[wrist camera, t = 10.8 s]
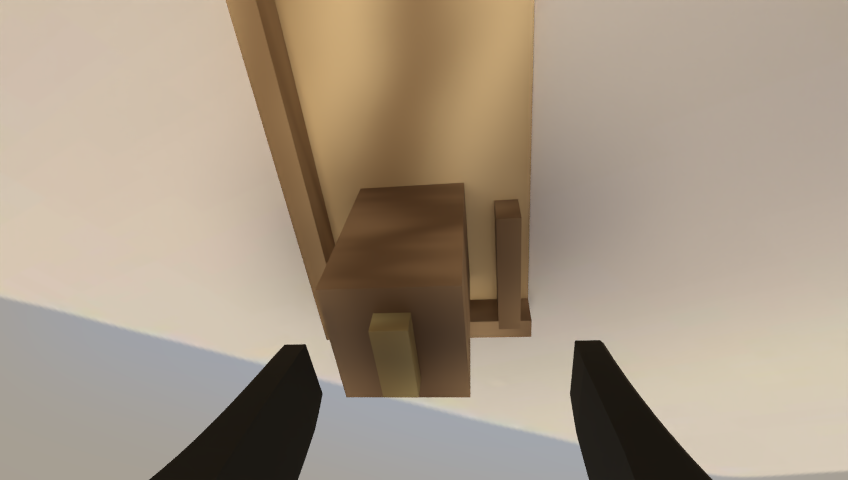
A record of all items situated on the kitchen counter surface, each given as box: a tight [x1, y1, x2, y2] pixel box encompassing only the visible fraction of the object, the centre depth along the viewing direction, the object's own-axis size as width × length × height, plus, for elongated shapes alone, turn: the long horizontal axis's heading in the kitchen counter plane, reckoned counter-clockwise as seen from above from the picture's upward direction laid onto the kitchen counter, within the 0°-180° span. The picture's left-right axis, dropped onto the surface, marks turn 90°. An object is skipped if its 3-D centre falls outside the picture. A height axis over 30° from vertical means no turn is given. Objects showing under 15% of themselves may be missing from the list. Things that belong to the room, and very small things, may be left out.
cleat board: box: [226, 0, 534, 340], centre depth 18 cm, size 10×18×2 cm, turn 6°
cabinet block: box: [315, 183, 470, 397], centre depth 18 cm, size 4×5×8 cm
